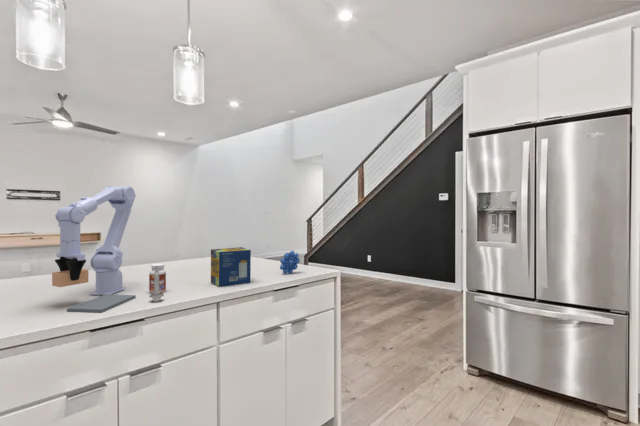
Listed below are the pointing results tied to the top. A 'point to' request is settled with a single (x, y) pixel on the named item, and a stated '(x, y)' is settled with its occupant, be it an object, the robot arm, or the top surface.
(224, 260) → the protein box
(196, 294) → the top surface
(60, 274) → the tan rectangular block
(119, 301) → the rubber mat
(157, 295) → the white flanged spindle
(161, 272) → the pill bottle
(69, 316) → the top surface
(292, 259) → the grapes
